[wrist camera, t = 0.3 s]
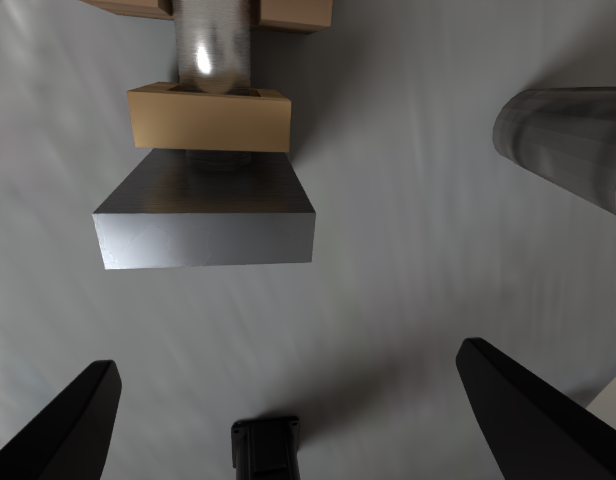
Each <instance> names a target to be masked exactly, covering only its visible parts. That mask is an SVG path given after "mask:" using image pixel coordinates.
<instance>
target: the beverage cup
mask: <svg viewBox="0 0 616 480" xmlns="http://www.w3.org/2000/svg"><path fill="white" fill-rule="evenodd" d="M493 143H494V146H495V149H496V150H497V151H498V152H499V154H500V155H502V156H504V157H506V158H508V159H510V160H512V161H513V162H514V163H515V164H517V165H519V166H521V167H523V168H525V169H527V170H529V171H531V172H533V173H535V174H537V175H538V176H540V177H542V178H544V179H546V180H548V181H550V182H552V183H554V184H556V185H558V186H560V187H562V188H564V189H566V190H568V191H570V192H572V193H574V194H576V195H577V196H579V197H581V198H583V199H585V200H587V201H589V202H591V203H593V204H595V205H597V206H599V207H601V208H603V209H605V210H607V211H609V212H611V213H613V214H615V215H616V87H576V88H550V89H543V90H528V91H525V92H522V93H520V94H518V95H517V96H515V97H514V98H512V99H511V100H510V101H509V102H508V103H507V104H506V105H505V106H504V107H503V108H502V110H501V112H500V114H499V115H498V117H497V119H496V122H495V125H494V128H493Z"/></svg>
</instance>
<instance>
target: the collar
mask: <svg viewBox="0 0 616 480" xmlns="http://www.w3.org/2000/svg"><path fill="white" fill-rule="evenodd" d="M127 97H128V103H129V110H130V116H131V122H132V129H133V135H134V141H135V147H137V148H168V149H199V150H231V151H262V152H289V141H290V120H291V101H290V100H289V99H287V98H286V97H285V96H283V95H282V94H281V93H279V92H278V91H277V90H271V89H257V88H251V96H236V95H221V94H205V93H190V92H181V89H180V83H170V82H157V83H153V84H150V85H147V86H143V87H140V88H136V89H133V90H129V91H127Z"/></svg>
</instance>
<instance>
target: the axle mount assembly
mask: <svg viewBox="0 0 616 480" xmlns="http://www.w3.org/2000/svg"><path fill="white" fill-rule="evenodd" d="M172 1H173V12H174V23H175V34H176V45H177V56H178V67H179V78H180V89H181V92H190V93H205V94H221V95H236V96H251V69H250V0H172ZM93 218H94V222H95V227H96V231H97V235H98V239H99V244H100V248H101V252H102V256H103V260H104V265H105V269H125V268H155V267H186V266H216V265H246V264H276V263H306V262H311V261H312V250H313V239H314V228H315V218H316V212H315V210H314V208H313V206H312V204H311V203H310V201H309V199H308V197H307V195H306V193H305V191H304V189H303V187H302V185H301V183H300V181H299V179H298V178H297V176H296V174H295V172H294V170H293V168H292V166H291V164H290V162H289V160H288V158H287V156H286V154H285V153H284V152H262V151H231V150H199V149H168V148H154V149H153V150H152V151H151V152H150V153H149V154H148V155H147V156H146V157H145V158H144V159H143V160H142V162H141V163H140V164H139V165H138V166H137V167H136V168H135V169H134V170H133V171H132V172H131V173H130V174H129V175H128V176H127V177H126V179H125V180H124V181H123V182H122V183H121V184H120V185H119V186H118V187H117V188H116V189H115V190H114V191H113V192H112V193H111V195H110V196H109V197H108V198H107V199H106V200H105V201H104V202H103V203H102V204H101V205H100V206H99V207H98V208H97V209H96V210H95V212H94V213H93Z"/></svg>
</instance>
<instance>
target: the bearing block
mask: <svg viewBox="0 0 616 480" xmlns="http://www.w3.org/2000/svg"><path fill="white" fill-rule="evenodd" d="M80 1H83V2H85V3H88V4H90V5H93V6H96V7H98V8H101V9H103V10H106V11H109V12H111V13H114V14H117V15H125V16H134V17H144V18H154V19H163V20H173V21H174V12H173V1H172V0H80ZM332 5H333V0H250V29H260V30H269V31H279V32H289V33H298V34H311V33H314V32H316V31H319V30H322V29H325V28H327V27H330V26H331V16H332Z"/></svg>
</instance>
